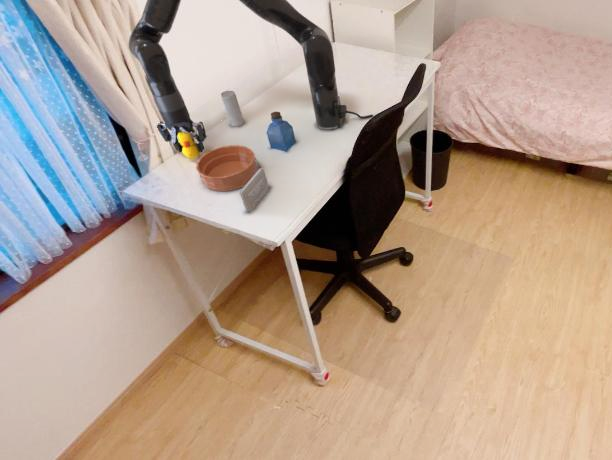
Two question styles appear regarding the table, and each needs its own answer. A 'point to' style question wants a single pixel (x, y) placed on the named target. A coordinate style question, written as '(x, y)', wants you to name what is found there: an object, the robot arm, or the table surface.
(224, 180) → the bowl
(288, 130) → the perfume bottle
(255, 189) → the cassette
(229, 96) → the beverage can
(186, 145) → the duckling
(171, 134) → the robot arm
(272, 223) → the table surface
